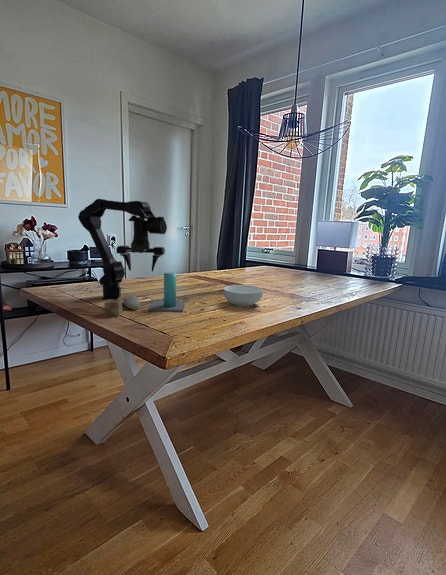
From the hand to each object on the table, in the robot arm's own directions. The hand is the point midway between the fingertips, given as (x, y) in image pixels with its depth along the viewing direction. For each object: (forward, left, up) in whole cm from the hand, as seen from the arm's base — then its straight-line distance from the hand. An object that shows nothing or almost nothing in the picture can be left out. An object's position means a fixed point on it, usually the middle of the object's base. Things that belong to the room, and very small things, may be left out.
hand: (141, 271), depth 137 cm
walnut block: (-6, -20, -13) cm, 25 cm away
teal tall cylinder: (+13, -9, -12) cm, 20 cm away
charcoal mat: (+12, -8, -13) cm, 19 cm away
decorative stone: (-2, -8, -13) cm, 16 cm away
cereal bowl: (+43, 0, -13) cm, 45 cm away
